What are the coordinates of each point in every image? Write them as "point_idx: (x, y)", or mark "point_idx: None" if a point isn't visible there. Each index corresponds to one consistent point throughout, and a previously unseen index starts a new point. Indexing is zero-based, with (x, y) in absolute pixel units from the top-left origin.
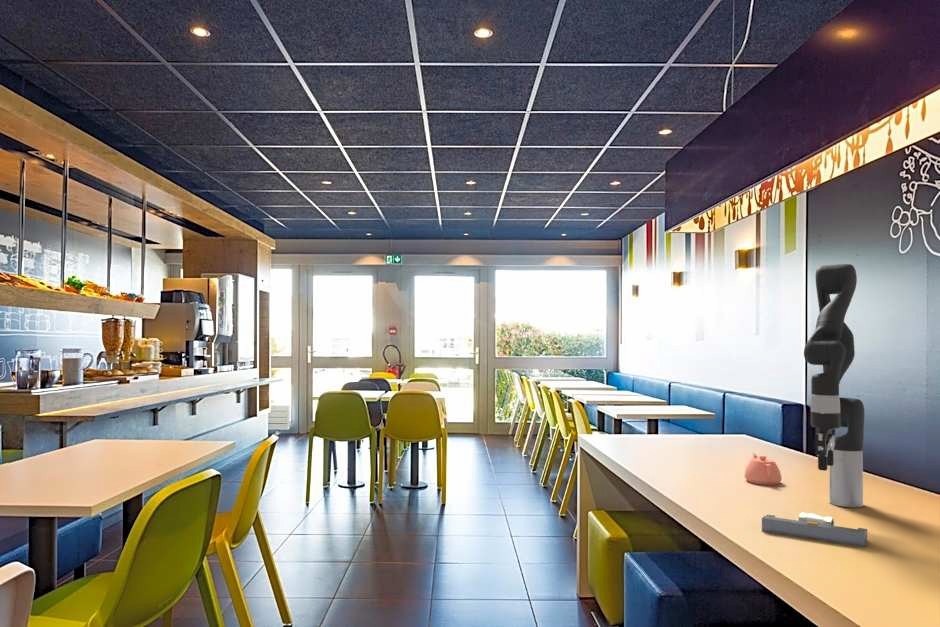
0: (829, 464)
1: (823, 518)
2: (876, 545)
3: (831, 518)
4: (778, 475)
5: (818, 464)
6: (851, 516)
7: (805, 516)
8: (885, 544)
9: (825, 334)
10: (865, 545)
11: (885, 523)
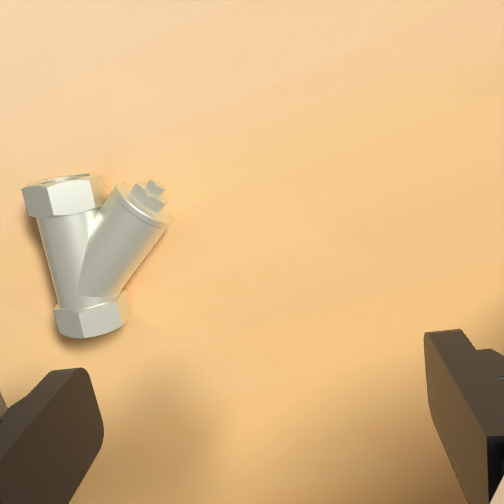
0: (429, 384)
1: (64, 301)
2: None
3: (77, 336)
4: None
5: (27, 401)
6: (490, 283)
7: (35, 217)
8: (92, 494)
9: None
10: None
11: None
